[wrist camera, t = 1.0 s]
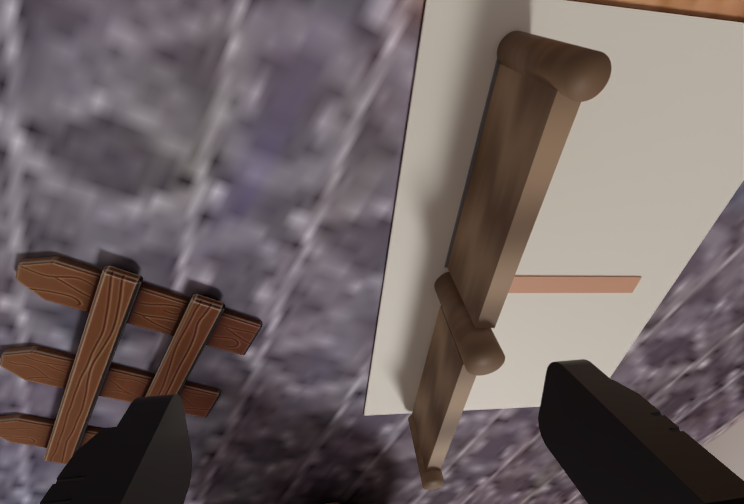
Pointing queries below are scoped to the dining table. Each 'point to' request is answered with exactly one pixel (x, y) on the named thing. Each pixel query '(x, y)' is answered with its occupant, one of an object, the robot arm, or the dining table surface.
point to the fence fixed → (512, 181)
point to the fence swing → (438, 403)
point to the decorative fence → (114, 349)
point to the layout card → (562, 188)
